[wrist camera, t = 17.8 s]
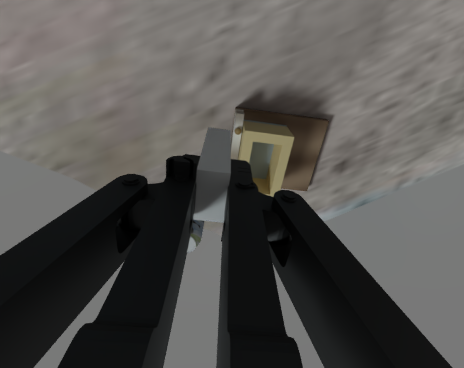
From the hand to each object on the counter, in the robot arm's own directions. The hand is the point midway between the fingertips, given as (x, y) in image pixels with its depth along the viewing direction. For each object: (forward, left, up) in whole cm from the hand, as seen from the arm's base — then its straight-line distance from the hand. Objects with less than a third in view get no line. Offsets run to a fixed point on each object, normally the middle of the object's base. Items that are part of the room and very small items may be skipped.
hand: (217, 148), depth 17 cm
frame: (+9, +7, -23) cm, 26 cm away
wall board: (+8, +10, -24) cm, 28 cm away
